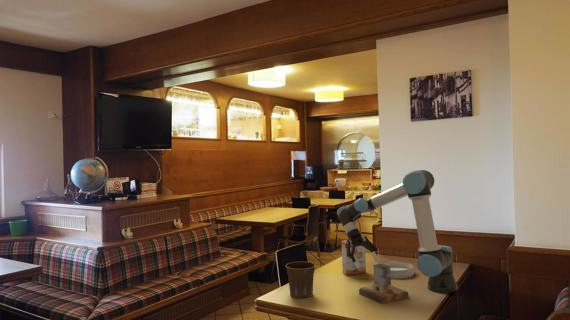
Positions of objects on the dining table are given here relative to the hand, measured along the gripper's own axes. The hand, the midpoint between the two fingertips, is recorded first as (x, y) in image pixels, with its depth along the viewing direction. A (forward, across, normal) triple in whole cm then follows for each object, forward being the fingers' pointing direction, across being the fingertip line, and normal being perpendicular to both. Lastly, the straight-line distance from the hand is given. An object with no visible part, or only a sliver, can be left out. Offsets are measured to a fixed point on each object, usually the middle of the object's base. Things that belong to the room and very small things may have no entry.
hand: (368, 265), depth 220 cm
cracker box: (-7, -12, -32) cm, 35 cm away
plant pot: (+2, +36, -18) cm, 40 cm away
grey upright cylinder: (+15, +1, +4) cm, 16 cm away
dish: (+3, -32, -20) cm, 38 cm away
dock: (+18, +1, +2) cm, 18 cm away
